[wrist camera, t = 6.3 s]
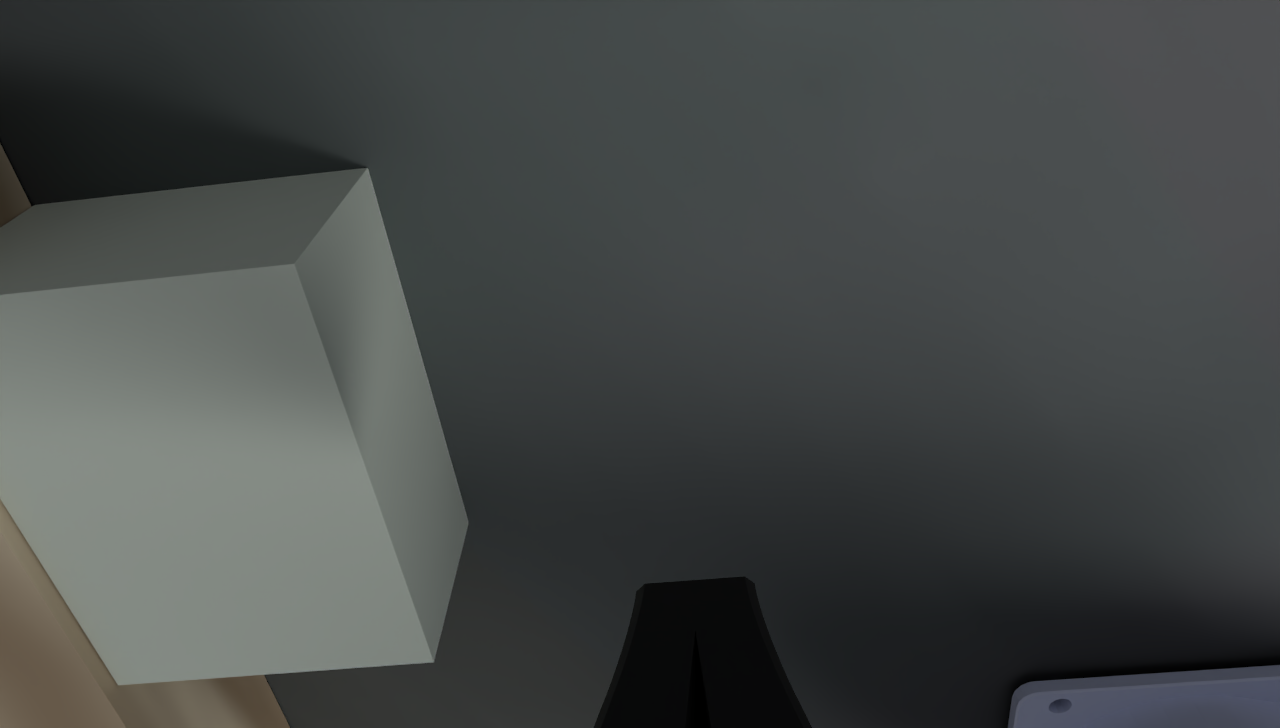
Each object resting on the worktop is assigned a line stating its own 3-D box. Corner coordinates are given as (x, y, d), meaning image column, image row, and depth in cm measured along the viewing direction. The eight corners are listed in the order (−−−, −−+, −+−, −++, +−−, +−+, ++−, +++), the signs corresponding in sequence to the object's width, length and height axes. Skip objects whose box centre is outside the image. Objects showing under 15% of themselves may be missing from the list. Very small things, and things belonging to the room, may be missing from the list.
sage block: (371, 162, 16) (294, 264, 12) (470, 514, 20) (433, 662, 17) (41, 200, 16) (-121, 308, 13) (207, 536, 20) (118, 685, 17)
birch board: (-56, 30, 14) (-276, 102, 11) (343, 836, 26) (296, 993, 22) (-197, 48, 15) (-456, 124, 11) (262, 840, 26) (202, 997, 23)
